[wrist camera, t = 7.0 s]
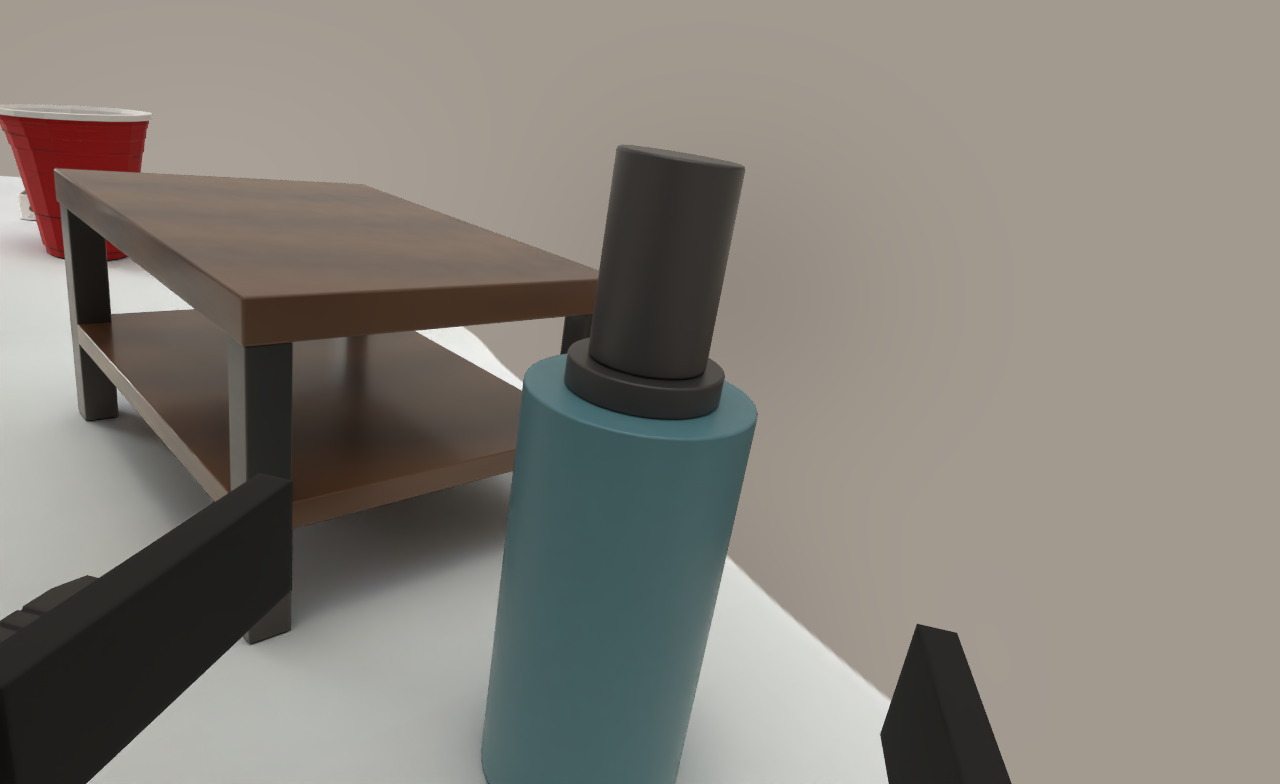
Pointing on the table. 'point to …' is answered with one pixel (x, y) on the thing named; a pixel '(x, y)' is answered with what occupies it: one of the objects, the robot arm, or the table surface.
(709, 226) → the capped bottle
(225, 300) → the coffee table
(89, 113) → the plastic cup
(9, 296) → the table surface
